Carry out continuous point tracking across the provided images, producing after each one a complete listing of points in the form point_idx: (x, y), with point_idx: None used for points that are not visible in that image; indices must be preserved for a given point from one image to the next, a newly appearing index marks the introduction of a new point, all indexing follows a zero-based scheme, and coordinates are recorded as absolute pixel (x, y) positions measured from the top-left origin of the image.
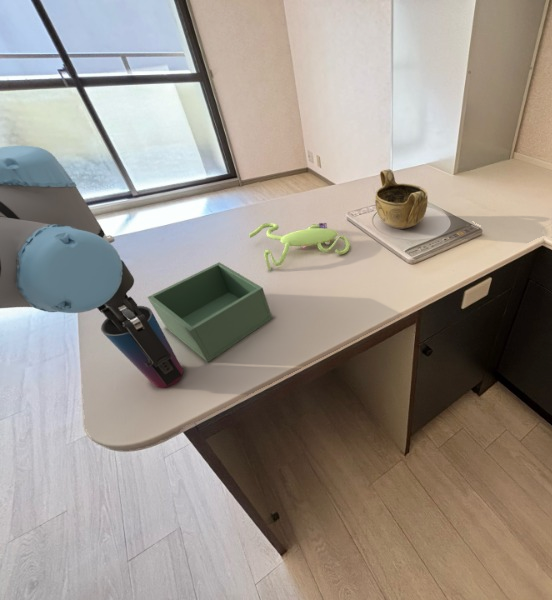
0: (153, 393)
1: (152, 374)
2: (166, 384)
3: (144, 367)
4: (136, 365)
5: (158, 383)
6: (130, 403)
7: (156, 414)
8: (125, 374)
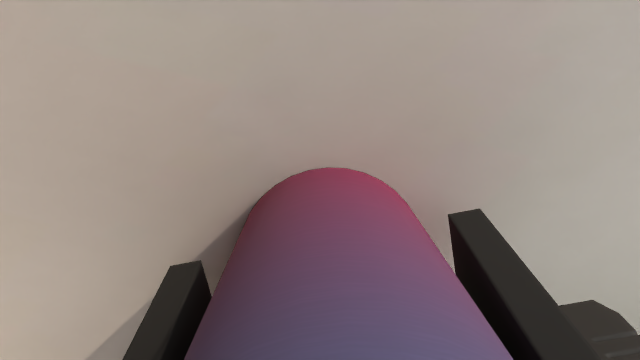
0: (249, 145)
1: (218, 286)
2: (168, 273)
3: (195, 342)
4: (250, 309)
5: (247, 222)
6: (263, 5)
7: (53, 115)
8: (574, 41)
